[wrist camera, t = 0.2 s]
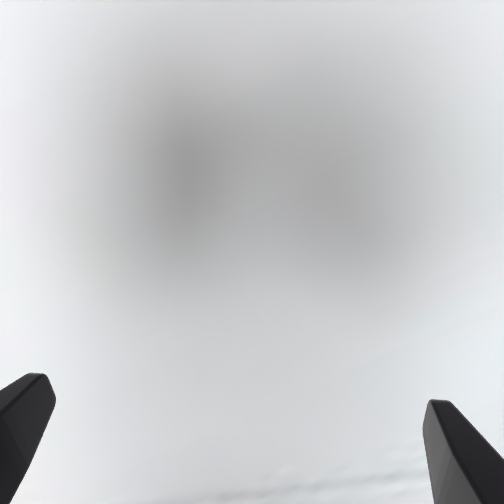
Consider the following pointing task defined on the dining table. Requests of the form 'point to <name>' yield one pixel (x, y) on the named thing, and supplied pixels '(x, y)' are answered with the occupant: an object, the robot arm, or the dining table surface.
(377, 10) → the dining table surface
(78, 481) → the dining table surface
